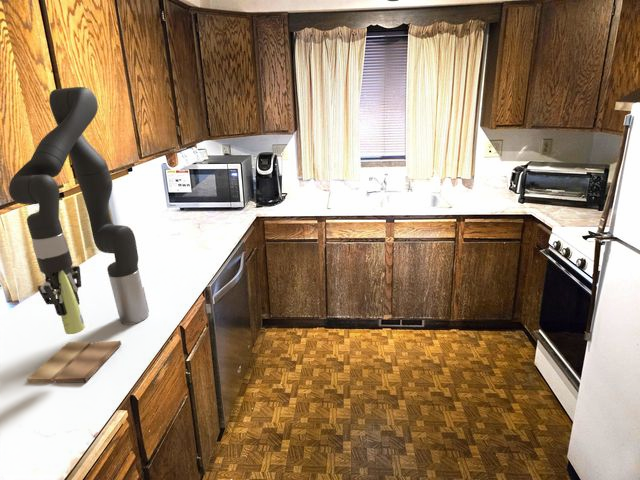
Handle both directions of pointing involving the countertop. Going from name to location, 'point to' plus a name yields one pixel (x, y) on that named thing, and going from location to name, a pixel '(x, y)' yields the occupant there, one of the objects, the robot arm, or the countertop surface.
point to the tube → (70, 307)
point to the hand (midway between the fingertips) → (69, 309)
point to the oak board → (58, 362)
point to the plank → (88, 362)
